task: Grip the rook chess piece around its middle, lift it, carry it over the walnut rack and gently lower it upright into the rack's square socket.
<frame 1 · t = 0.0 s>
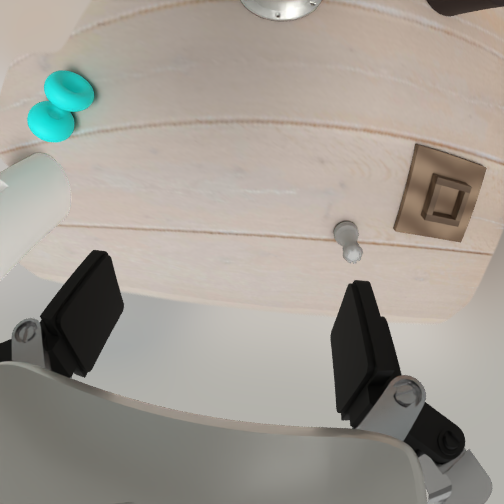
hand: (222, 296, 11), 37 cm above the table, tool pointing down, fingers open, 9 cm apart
walnut rack: (441, 195, 43), on the table
cylinder: (44, 189, 51), on the table
rook chess piece: (345, 230, 50), on the table
donuts: (77, 101, 40), on the table
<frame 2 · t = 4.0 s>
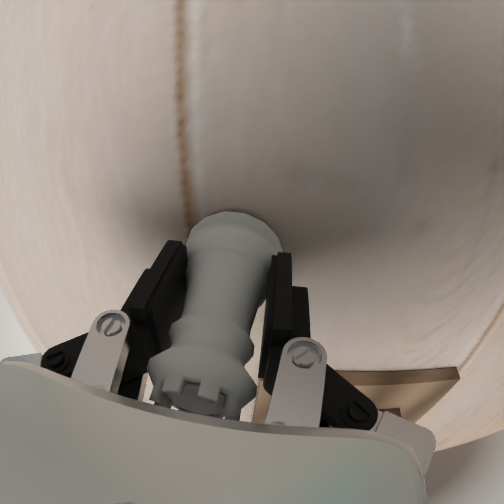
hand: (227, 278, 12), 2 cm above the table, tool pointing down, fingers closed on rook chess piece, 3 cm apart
walnut rack: (340, 417, 22), on the table
rook chess piece: (235, 248, 14), on the table, touching gripper
when the fingers open (4 cm above the table, at t = 9.3 s): rook chess piece stays where it is, resting on walnut rack.
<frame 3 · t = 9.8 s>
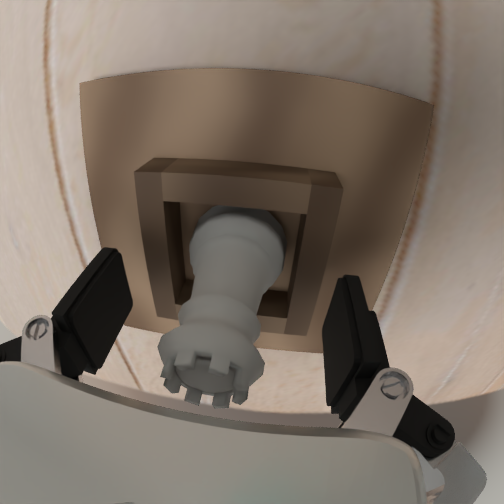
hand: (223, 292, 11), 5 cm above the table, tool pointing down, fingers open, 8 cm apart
walnut rack: (240, 229, 15), on the table
rook chess piece: (240, 237, 14), point 1 cm above the table, touching walnut rack
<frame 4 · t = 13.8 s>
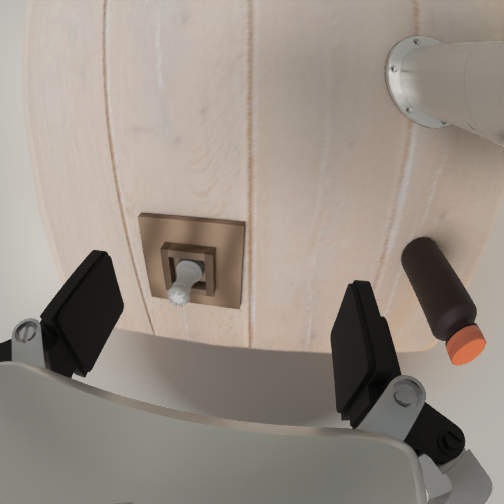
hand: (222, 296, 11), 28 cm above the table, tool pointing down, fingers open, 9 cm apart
walnut rack: (192, 261, 46), on the table
rook chess piece: (192, 264, 45), point 1 cm above the table, touching walnut rack
bottle: (418, 254, 41), on the table
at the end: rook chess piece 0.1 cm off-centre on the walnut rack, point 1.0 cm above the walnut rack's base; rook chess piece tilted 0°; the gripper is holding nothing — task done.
